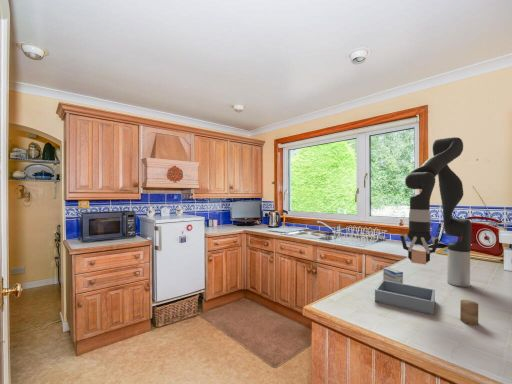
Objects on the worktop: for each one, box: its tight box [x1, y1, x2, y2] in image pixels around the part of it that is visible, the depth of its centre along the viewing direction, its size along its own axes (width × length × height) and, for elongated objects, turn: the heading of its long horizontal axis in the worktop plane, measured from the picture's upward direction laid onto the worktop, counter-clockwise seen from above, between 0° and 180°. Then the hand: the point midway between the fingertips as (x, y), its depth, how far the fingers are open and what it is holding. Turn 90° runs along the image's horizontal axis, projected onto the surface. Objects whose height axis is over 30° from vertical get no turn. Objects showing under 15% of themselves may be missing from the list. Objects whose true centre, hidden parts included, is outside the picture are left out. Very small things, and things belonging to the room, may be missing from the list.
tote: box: [374, 279, 436, 316], centre depth 112 cm, size 16×21×5 cm
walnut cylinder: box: [459, 299, 479, 326], centre depth 95 cm, size 5×5×7 cm
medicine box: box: [382, 267, 404, 284], centre depth 128 cm, size 8×4×9 cm, turn 21°
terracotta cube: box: [410, 248, 427, 265], centre depth 109 cm, size 5×5×5 cm
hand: (418, 261), depth 109 cm, fingers closed on terracotta cube, 5 cm apart
